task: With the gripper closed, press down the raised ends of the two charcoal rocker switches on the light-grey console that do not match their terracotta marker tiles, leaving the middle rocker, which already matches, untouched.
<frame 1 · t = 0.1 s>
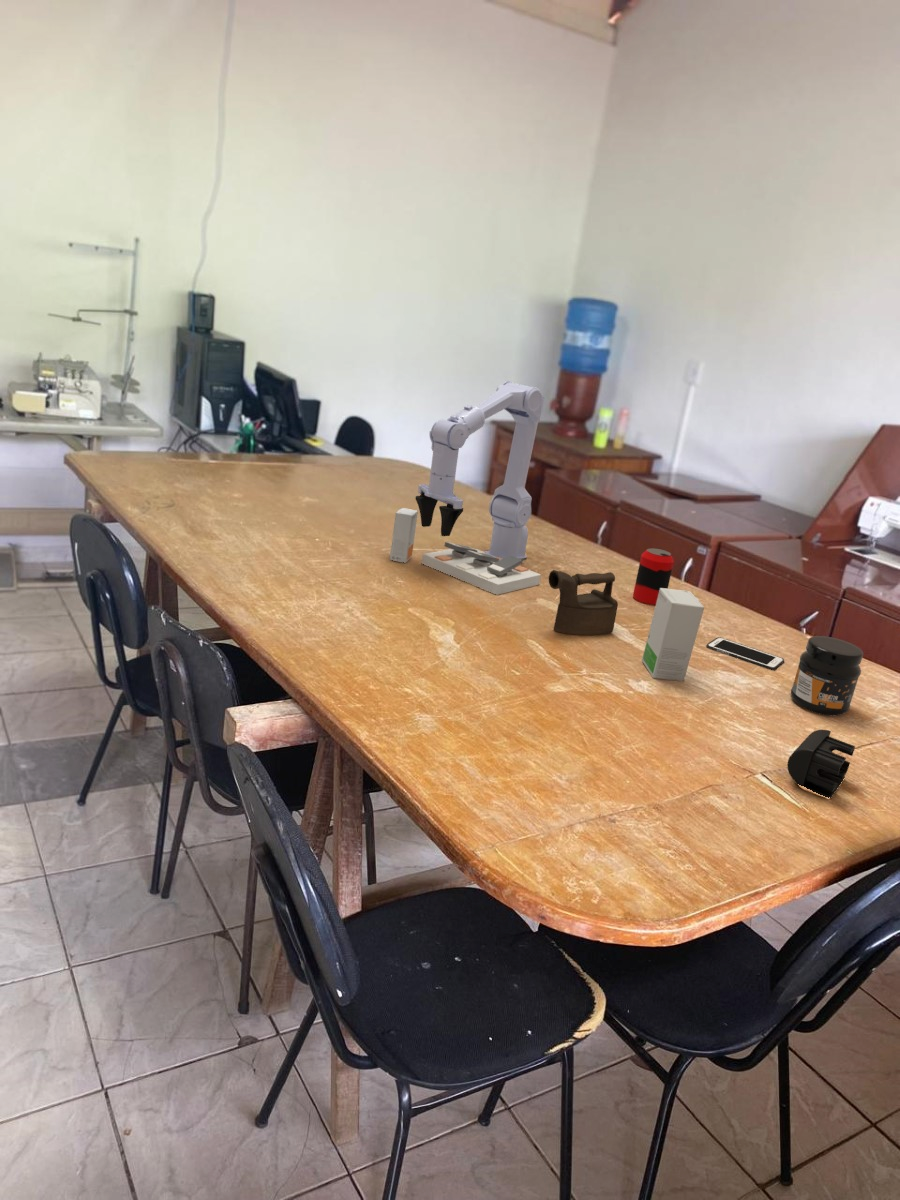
hand: (435, 530, 208), 10 cm above the table, tool pointing down, fingers open, 7 cm apart
skincare box 2: (401, 559, 218), on the table
soda can: (648, 600, 213), on the table
cell phone: (744, 656, 187), on the table
skincare box: (663, 672, 172), on the table
rocker c: (504, 565, 209), point 4 cm above the table, hinge at 14.0°
rocker a: (461, 548, 217), point 4 cm above the table, hinge at -14.0°
end cap: (813, 781, 138), on the table
console: (479, 574, 214), on the table
supplement container: (817, 705, 167), on the table
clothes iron: (575, 629, 188), on the table
rocker b: (482, 556, 213), point 4 cm above the table, hinge at -14.0°
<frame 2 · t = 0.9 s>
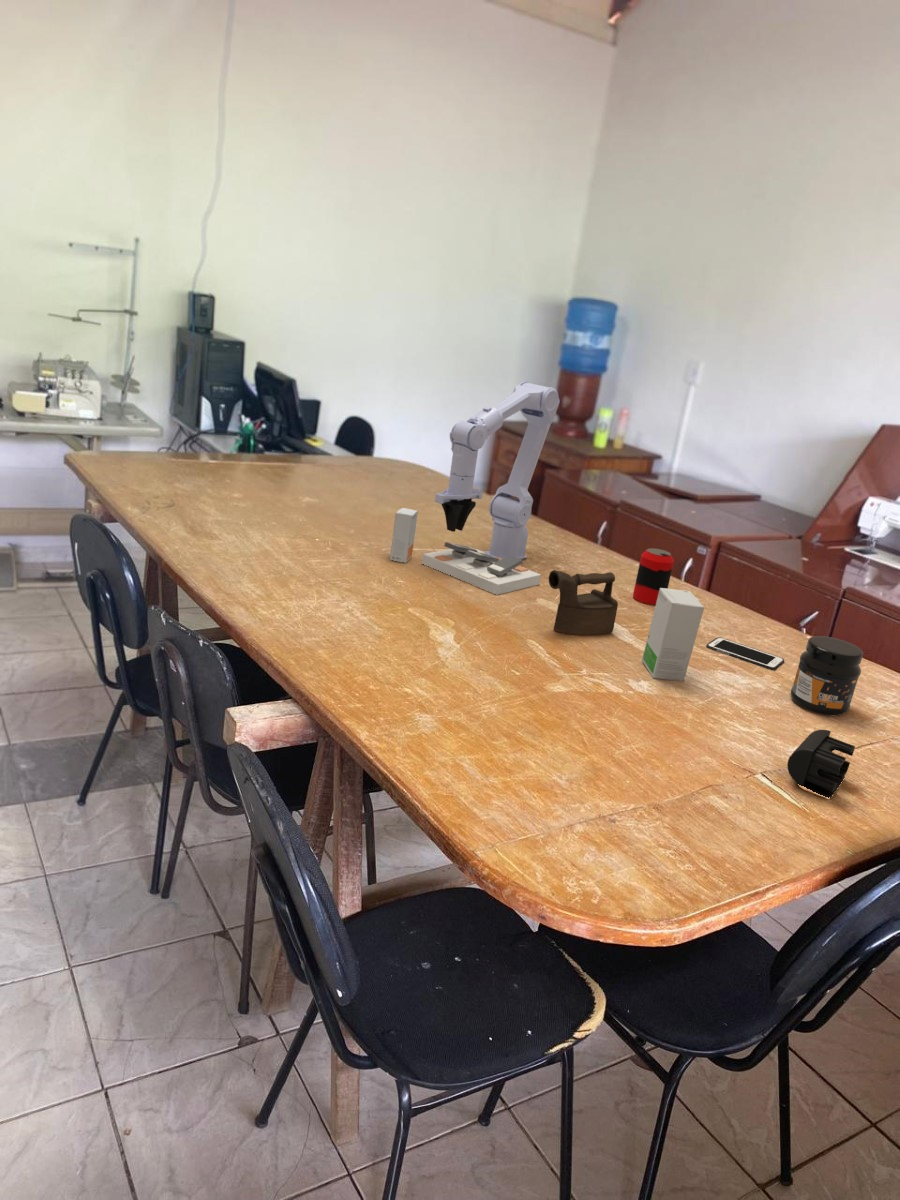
hand: (454, 529, 213), 9 cm above the table, tool pointing down, fingers closed
nothing on the table moved.
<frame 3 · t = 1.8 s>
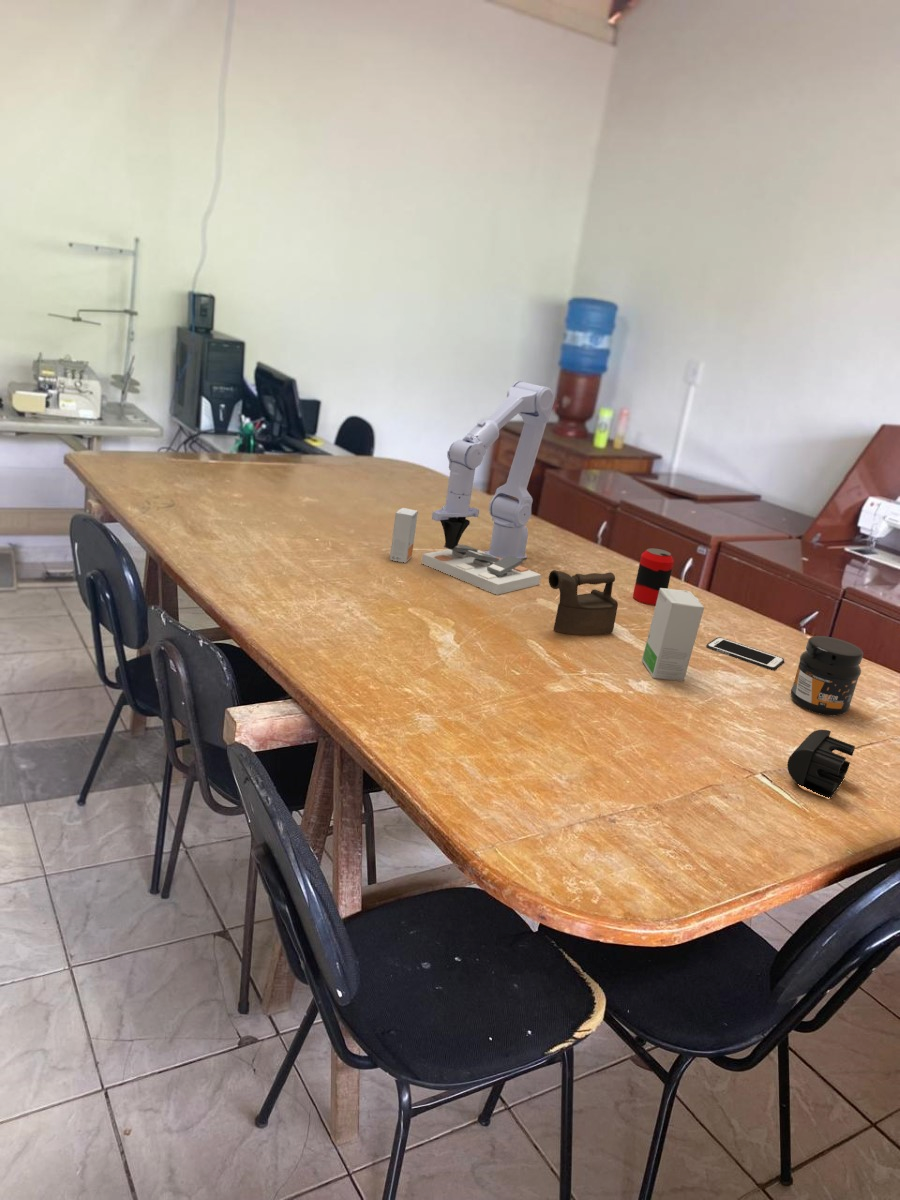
hand: (450, 547, 214), 5 cm above the table, tool pointing down, fingers closed, pressing on rocker a
rocker a: (461, 548, 217), point 4 cm above the table, hinge at -10.4°, touching gripper
everything else where it was.
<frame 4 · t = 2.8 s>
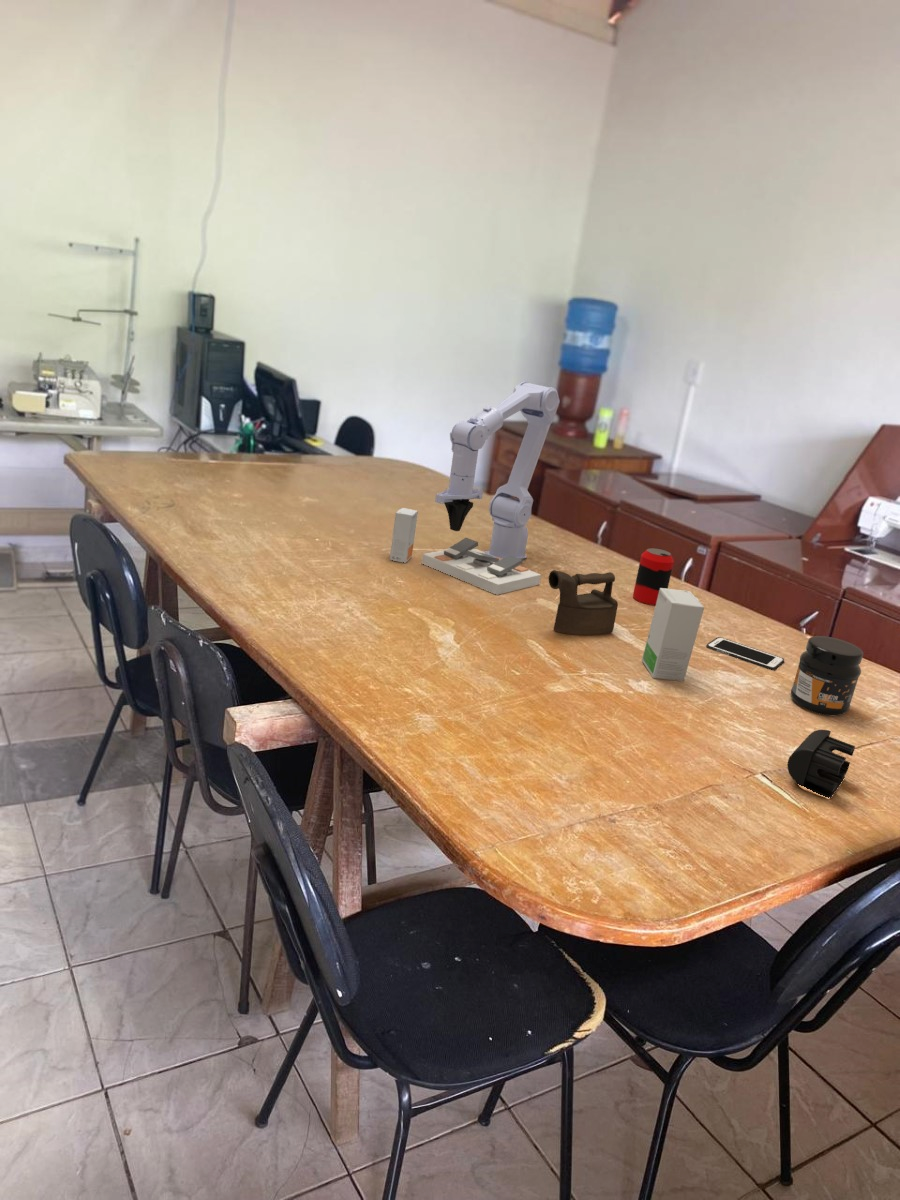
hand: (454, 530, 213), 9 cm above the table, tool pointing down, fingers closed
rocker a: (461, 548, 217), point 4 cm above the table, hinge at 18.9°
everything else where it was.
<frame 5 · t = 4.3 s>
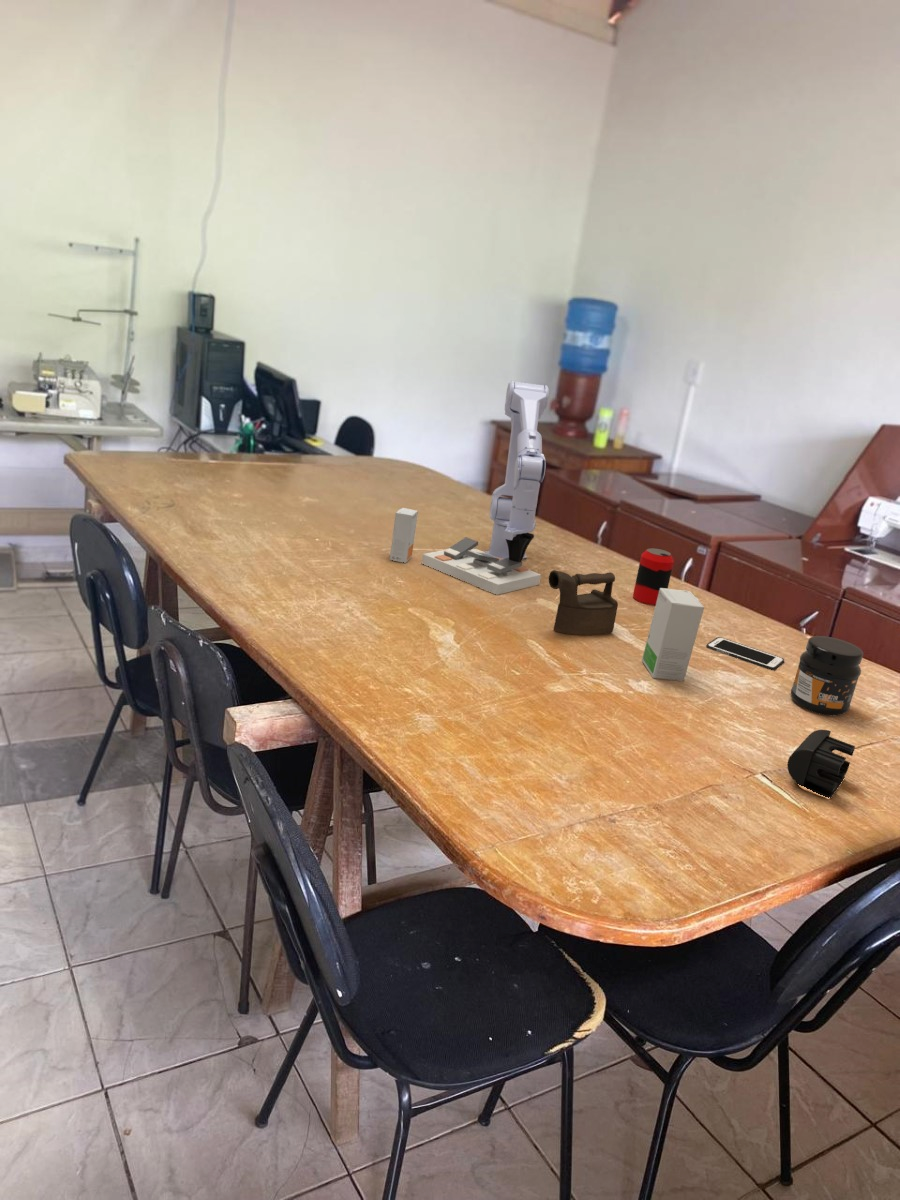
hand: (515, 563, 211), 4 cm above the table, tool pointing down, fingers closed, pressing on rocker c
rocker c: (504, 565, 209), point 4 cm above the table, hinge at 5.7°, touching gripper
rocker a: (461, 548, 217), point 4 cm above the table, hinge at 20.9°
everything else where it was.
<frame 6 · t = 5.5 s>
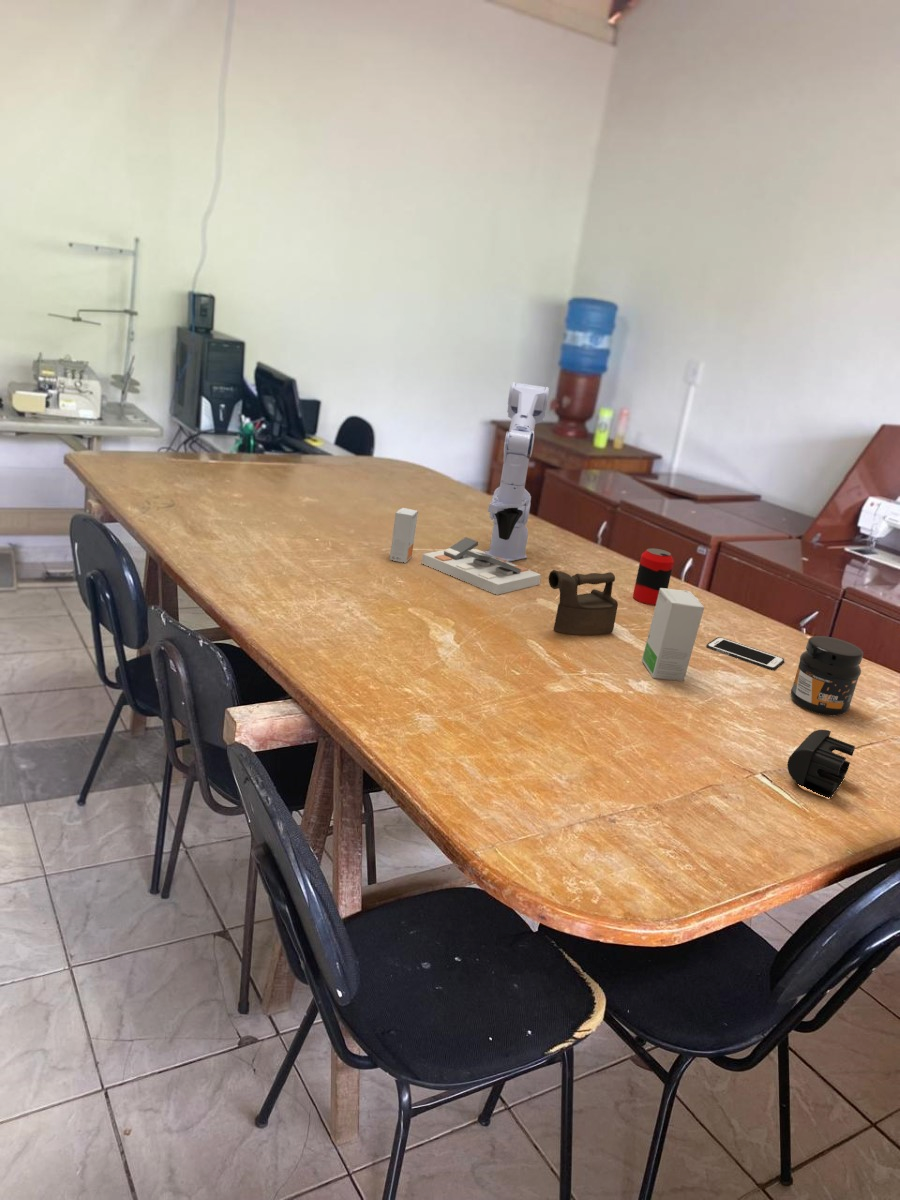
hand: (503, 538, 212), 9 cm above the table, tool pointing down, fingers closed
rocker c: (505, 565, 209), point 4 cm above the table, hinge at -21.3°, touching console
everything else where it was.
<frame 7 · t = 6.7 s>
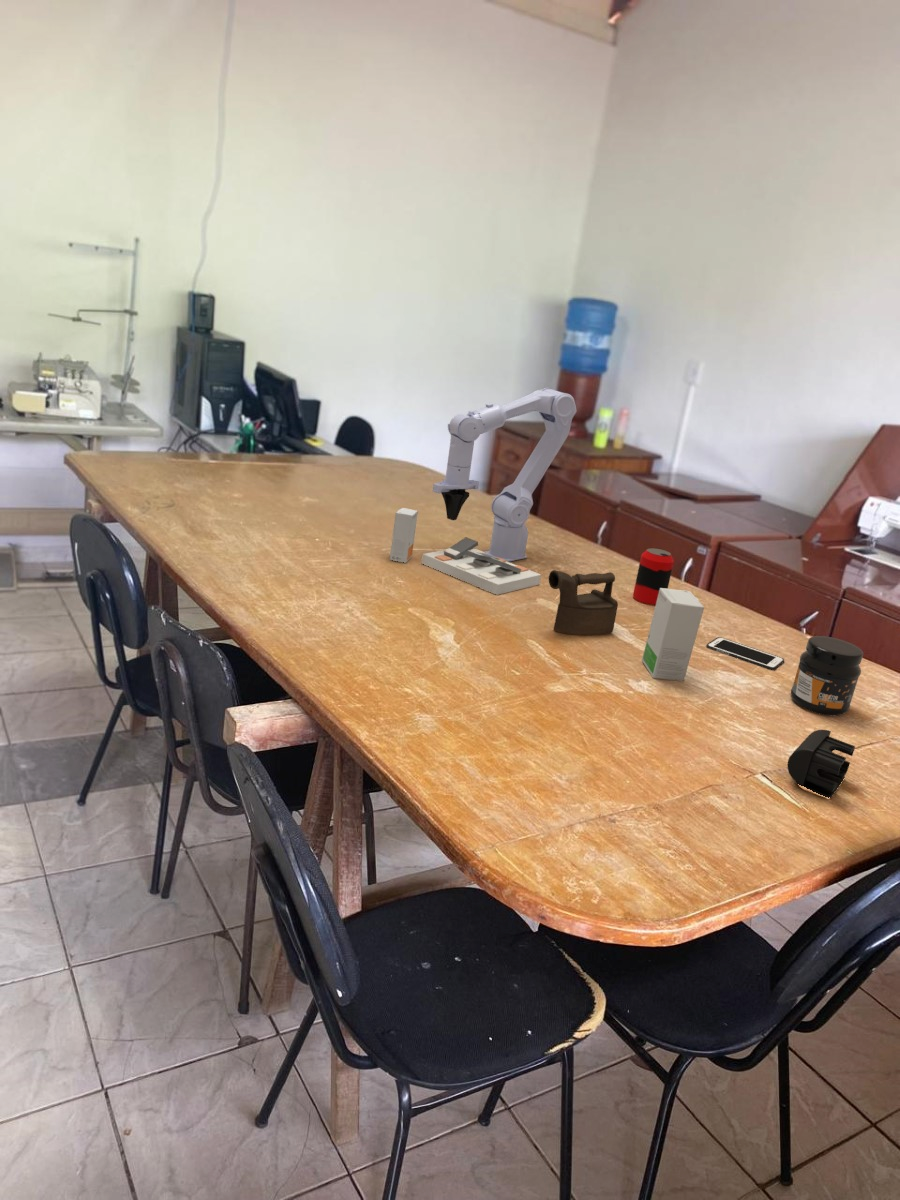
hand: (451, 519, 220), 10 cm above the table, tool pointing down, fingers closed
rocker c: (505, 565, 209), point 4 cm above the table, hinge at -20.0°
everything else where it was.
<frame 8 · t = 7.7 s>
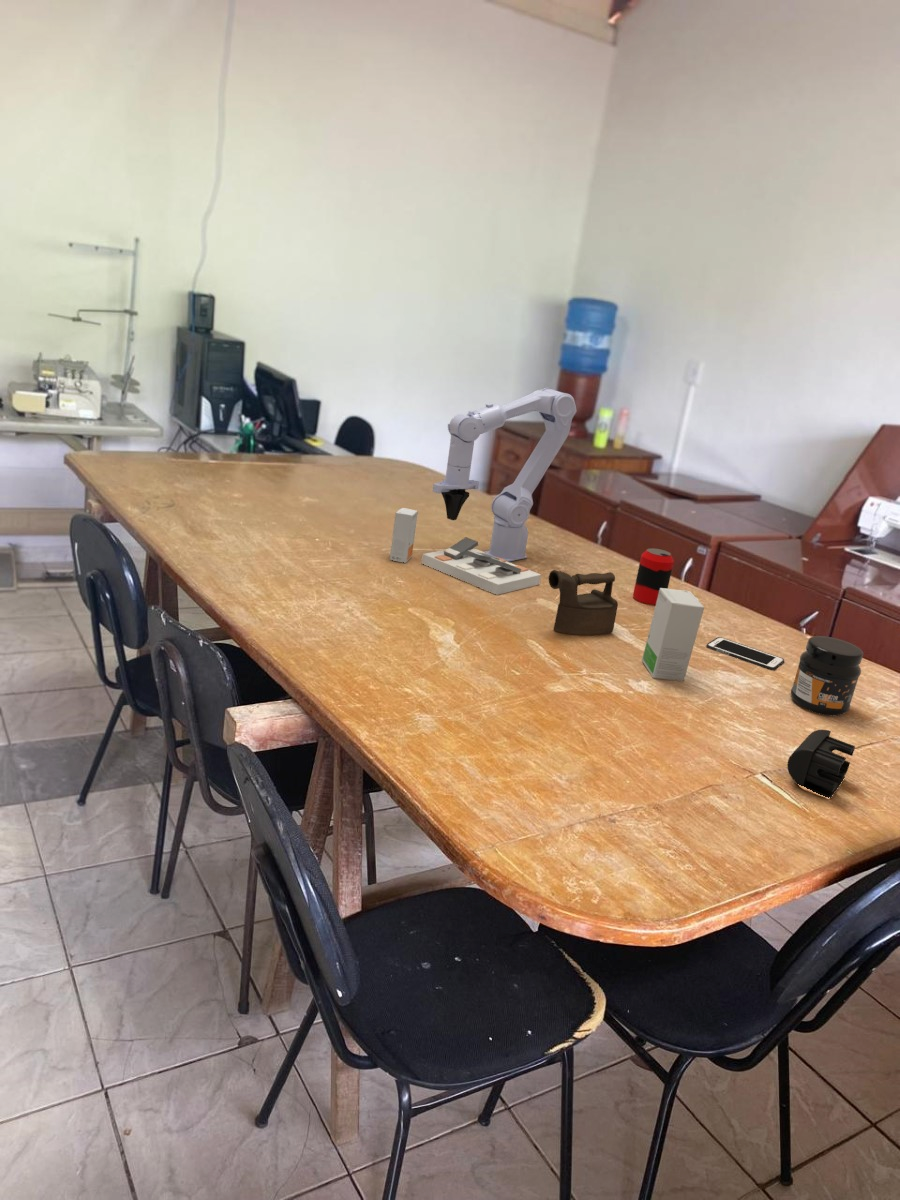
hand: (451, 519, 220), 10 cm above the table, tool pointing down, fingers closed
nothing on the table moved.
at the end: rocker a at +21° (first picture: -14°); rocker c at -20° (first picture: +14°); rocker b at -14° (first picture: -14°) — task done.
